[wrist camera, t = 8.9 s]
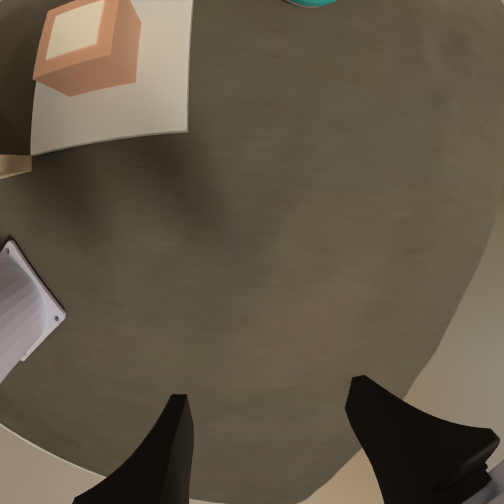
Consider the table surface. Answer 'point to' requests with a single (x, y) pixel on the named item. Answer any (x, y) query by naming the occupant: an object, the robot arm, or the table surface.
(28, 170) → the wooden board
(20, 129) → the table surface
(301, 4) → the beverage can
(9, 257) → the robot arm
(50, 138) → the tile
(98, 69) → the letter block
